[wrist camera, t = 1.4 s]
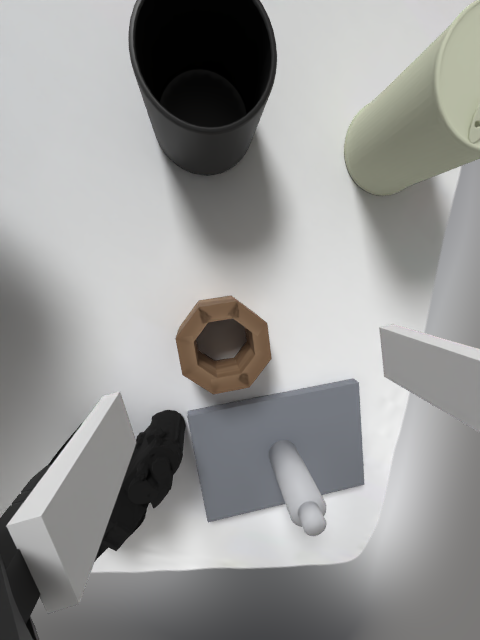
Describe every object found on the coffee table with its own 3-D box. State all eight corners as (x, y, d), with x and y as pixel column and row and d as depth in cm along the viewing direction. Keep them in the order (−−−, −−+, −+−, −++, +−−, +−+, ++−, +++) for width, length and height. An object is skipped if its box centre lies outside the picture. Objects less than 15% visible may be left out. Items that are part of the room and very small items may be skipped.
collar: (189, 378, 31) (187, 399, 26) (175, 304, 29) (170, 311, 24) (262, 365, 32) (274, 382, 27) (253, 292, 30) (264, 296, 25)
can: (330, 176, 29) (419, 115, 17) (363, 83, 28) (482, -51, 16) (404, 208, 31) (529, 172, 19) (437, 122, 29) (594, 26, 18)
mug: (271, 60, 26) (308, -44, 17) (237, 190, 28) (254, 154, 19) (172, 16, 24) (156, -125, 16) (142, 157, 26) (113, 101, 17)
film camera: (127, 370, 30) (97, 413, 21) (196, 421, 32) (195, 479, 23) (37, 472, 30) (-28, 555, 22) (111, 515, 33) (79, 606, 24)
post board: (207, 513, 34) (210, 621, 24) (187, 410, 31) (181, 481, 21) (358, 477, 36) (422, 561, 26) (353, 378, 34) (421, 428, 23)
